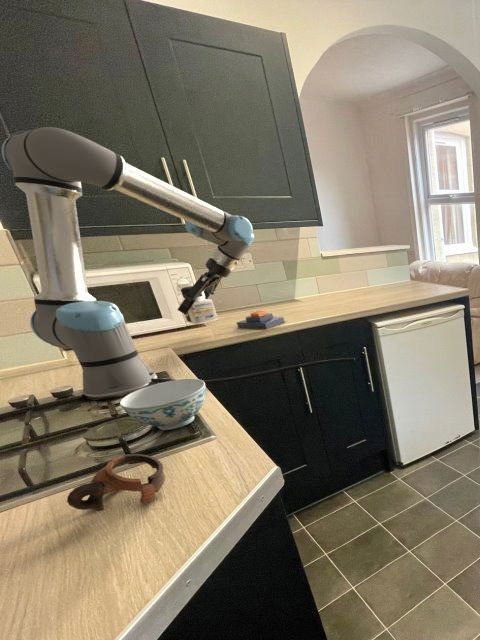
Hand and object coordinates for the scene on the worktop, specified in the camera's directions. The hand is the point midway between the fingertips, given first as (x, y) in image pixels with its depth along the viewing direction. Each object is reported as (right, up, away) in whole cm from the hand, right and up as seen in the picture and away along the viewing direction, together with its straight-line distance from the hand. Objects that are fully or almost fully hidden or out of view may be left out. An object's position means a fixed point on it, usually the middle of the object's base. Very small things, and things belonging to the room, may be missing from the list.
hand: (189, 308), depth 156 cm
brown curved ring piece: (+56, -48, -86) cm, 113 cm away
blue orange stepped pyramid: (+17, -4, +17) cm, 24 cm away
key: (+17, -1, +15) cm, 23 cm away
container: (+3, -5, +3) cm, 6 cm away
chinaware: (+44, -37, -61) cm, 84 cm away
